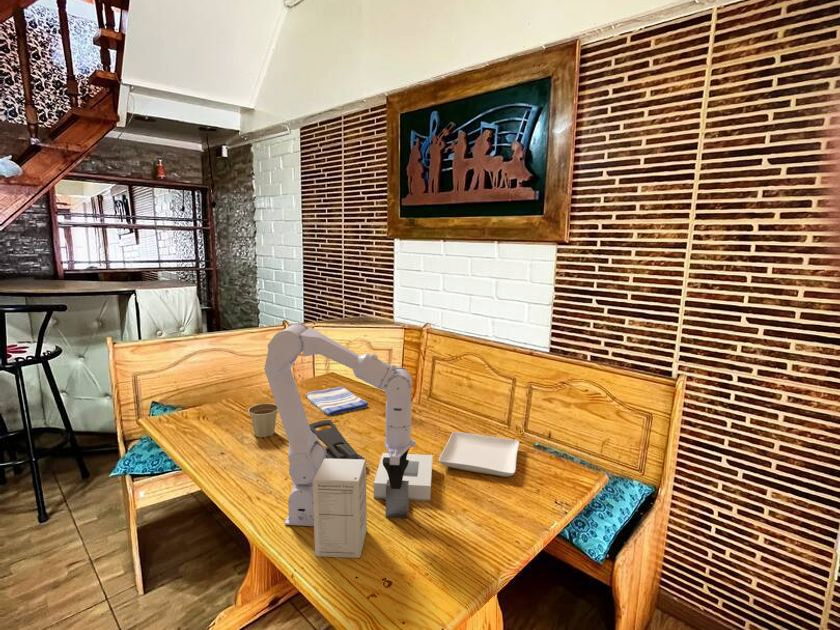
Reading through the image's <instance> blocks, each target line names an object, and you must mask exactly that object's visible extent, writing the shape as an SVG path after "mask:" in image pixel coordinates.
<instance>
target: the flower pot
mask: <svg viewBox="0 0 840 630" xmlns="http://www.w3.org/2000/svg"><path fill="white" fill-rule="evenodd" d="M247 412H248V414H249V417H250V419H251V425H252V429H253V435H254V436H255V437H256V438H262V437H264V438H267V437H271V436H273V435H274V434H275V429H276V421H277V414H278V413H279V411H278V408H277V405H276V403H268V402H267V403H258V404H254V405H253V406H250V407H249V408H248V409H247Z"/></svg>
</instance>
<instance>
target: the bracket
mask: <svg viewBox="0 0 840 630" xmlns="http://www.w3.org/2000/svg"><path fill="white" fill-rule="evenodd" d="M408 495H409V481H403V480H402V485H401V488H400V489H391V486H390V482H389V480H387V483H386V499H385V518H388V519H389V518H390V519H405V520H407V519H408V517H409V515H408V514H409V510H410V509H409V508H410V500H409V498H408Z"/></svg>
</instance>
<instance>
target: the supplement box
mask: <svg viewBox="0 0 840 630" xmlns="http://www.w3.org/2000/svg"><path fill="white" fill-rule="evenodd" d="M313 504H314V507H313V509H314V526H313V535H314V538H313V539H314V540H313V541H314V556H315V557H322V558H323V557H325V558H326V557H327V558H329V557H330V558H350V559H351V558H352V559H355V558H356V559H360V558H361V554H362V551H363V548H364V543H365V540H366V536H367V530H368V528H367V526H368V523H367V520H368V519H367V514H368V513H367V460H366V459H365V460H364V459H326V458H324V460H323V462H322V464H321V466H320V468H319V470H318V472H317V474H316V476H315V478H314V479H313Z"/></svg>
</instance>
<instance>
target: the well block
mask: <svg viewBox="0 0 840 630" xmlns="http://www.w3.org/2000/svg"><path fill="white" fill-rule="evenodd" d="M384 457H390V455H389V453H388V452H382V454H381V457H380V461H379V464H378V466H377V467H378V468H377V471H376V473H375V478H374V481H373V499H385V500H386V483H387V480H389V477H388V474H387V471H386V469H385V467H384V466H383V458H384ZM406 460H409V463H408V466H407V468H406V469H405V472H404V475H403V481H409V495H408V498H409V501H420V502H421V501H422V502H423V501H424V502H425V501H426V502H431V497H432V495H431V493H432V476H433V454H417V453H416V454H415V453H414V454H413V453H408V454H407V458H406Z"/></svg>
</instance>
